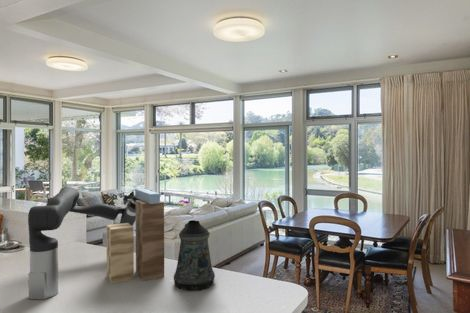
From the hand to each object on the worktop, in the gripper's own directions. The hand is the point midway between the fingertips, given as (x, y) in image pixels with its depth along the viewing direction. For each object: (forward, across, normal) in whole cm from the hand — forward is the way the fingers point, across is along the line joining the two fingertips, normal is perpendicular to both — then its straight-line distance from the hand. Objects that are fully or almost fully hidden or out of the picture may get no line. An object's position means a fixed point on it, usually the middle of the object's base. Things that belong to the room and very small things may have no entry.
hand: (142, 192), depth 155 cm
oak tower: (-11, -12, +34) cm, 38 cm away
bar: (+4, 0, +6) cm, 7 cm away
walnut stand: (-8, 0, +35) cm, 36 cm away
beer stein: (+7, +12, +45) cm, 47 cm away
